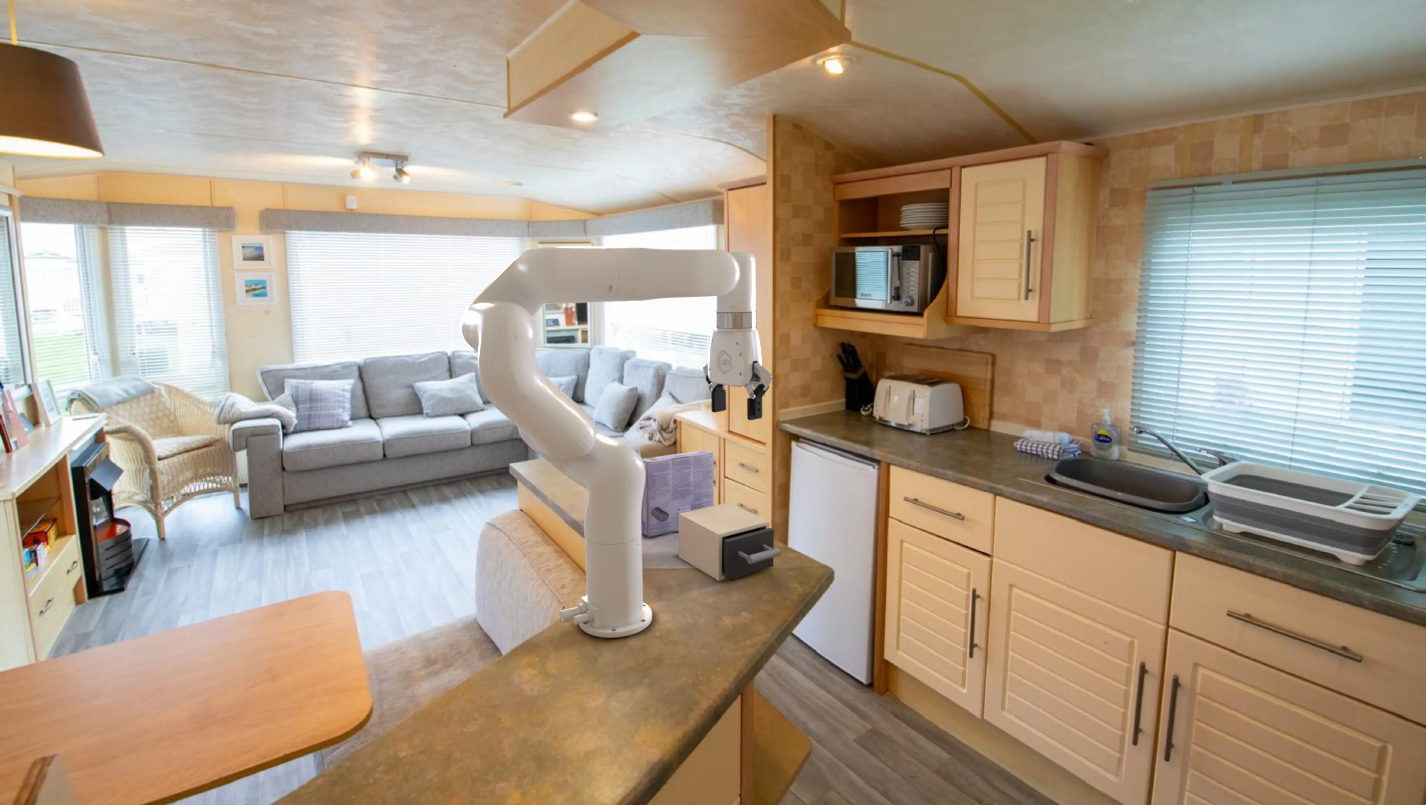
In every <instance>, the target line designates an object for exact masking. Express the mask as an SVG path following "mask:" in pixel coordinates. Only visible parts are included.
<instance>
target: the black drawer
mask: <svg viewBox="0 0 1426 805" xmlns="http://www.w3.org/2000/svg"><path fill="white" fill-rule="evenodd" d="M774 544H775V529H774V528H772V527H769V528H768V529H764V530H763V527H759V528H756V529H752V530H748V531H744V532H740V533H736V534H732V535H729V536H725V537H722V573H724V578H726V579H725V580H732V579H735V578H738V577H742V576H745V575H748V574H749V575H750V574H752V573H755V572H758V571H762V570H765V569H769V568H771V567H774V558H777V557H779V556H780V555H781V550H780V548H779V547H775V545H774Z"/></svg>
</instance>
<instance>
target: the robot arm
mask: <svg viewBox="0 0 1426 805" xmlns="http://www.w3.org/2000/svg"><path fill="white" fill-rule="evenodd" d="M704 297H705V298H706V297H713V305H714V306H713V308H714V310H713V311H714V316H713V320H714V328H713V329H711V333H710V340H709V347H708V362H707V363H706V364H704V365H703V366H702V370H703V373H704V376H705V382H706V383H707V384H708V390H709V391H710V398H711V399H710V400H711V402H710V403H711V405H710V406H711V412H712V413H719V412H725V411H726V410H727V389H725V386H729V387H735V388H743V387H744V388H745V390H746V392H747V394H748V397H747V399H746V406H747V407H746V416H747V417H746V418H747V420H748V421H755V420H759V419H762V418H763V397H765V396H766V393H767V391H768V390H769V389H770V384H771V381H772V380H773V374H772V373H771V372H770V371H769V370H767V369H766V368H765V367H764V366H763V361H762V360H763V359H762V347H761V340H760V335H759V330H758V329H757V260H756V257H755V255H754V254H753V253H752V252H749V251H727V250H723V249H671V248H669V249H665V248H663V249H662V248H650V247H648V248H647V247H635V246H633V247H632V246H548V247H547V246H546V247H537V248H531V249H527V250H525V251H524V252H522V253H520V254H519V255H517V256H516V258H514V259H513V260H512V261H511V262H510V263H509V264H508V265H507V266H506V267H505V268H504V269H503V270H502V271H501V272H500V273H499V274H498V275H497V276H496V277H495V278H494V279H493V280H492V281H491V282H490V284H488V285H487V286H486V287H485V288H484V289H483V290H482V291H481V292H480V293H479V294H478V295H477V296H476V297H475V298H474V300H472V301H471V302H470V304H469V305H468V306H467V307H466V309H465V310H464V311H463V314H462V316H461V318H460V322H459V323H460V324H459V325H460V326H459V330H460V334H461V338H462V339H463V341H464V343H465V344H466V345H467V346H468V347H469V348H470V349H472V350H473V351H475V352H476V353H477V354H478V355H477V371H478V376H479V381H480V382H479V383H480V385H481V388H482V391H483V392H484V394H485V396H486V398H487V399H488V401H489V402H490V403H491V404H492V405H493V407H495V408H496V409H497V410H498V411H499V412H500V413H501V414H502V415H504V417H506V418H507V419H508V420H509V421H510V422H511V423H512V424H513V425H514V426H516V427H517V431H518V433H519V435H520V437H521V439H522V440H523V442H524V443H525V444H526V445H527V446H529V448H531V449H532V450H533V451H534V452H536V453H537V454H538V455H540V456H541V457H542V458H543V459H544V460H546V461H547V462H548V463H549V464H551V465H552V466H553V467H554V468H556V469H557V470H558V471H559V472H561V473H562V474H563V475H565V476H566V477H567V478H569V479H570V480H571V481H572V482H574V483H576V484H578V485H579V486H580V487H582V488H584V489H585V490H586V491H587V494H588V495H587V496H588V497H587V502H586V507H585V511H584V517H583V518H584V519H583V532H584V554H585V557H584V558H585V578H586V579H585V585H586V586H585V587H586V595H583V596H581V598H580V602H581V603H578V604H576V606H575V607H569V608H566V609H563V610H560V611H559V619H560V621H561V623H566V622H570V621H572V623H573V624H574V625H575V626H576V625H578V626H579V628H580V629H581V630H582V631H583V632H584V633H586V634H588V635H591V636H594V637H597V638H608V639H612V638H613V639H615V638H624V637H627V636H632V635H635V634H638V633H639V632H642V631H643V630H645V629H646V628H647V627H648V626H649V625H651V623H652V621H653V610H652V608H651V607H650V606H649V604H647V603H645V602H644V585H643V583H644V581H643V580H644V579H643V578H644V577H643V536H642V534H643V533H642V532H641V509H642V498H643V492H644V486H645V478H646V472H645V466H644V463H643V461H642V459H643V458H642V456H641V457H640V456H639V454H638V453H637V452H636V451H635V449H634V448H633V447H631V446H630V445H628V444H626V443H624V442H622V441H620V440H617V439H615V438H612V437H609V436H607V435H605V434H602V433H601V432H600V431H599V430H597V429H596V428H597V427H596V425H595V422H594V420H593V418H592V417H591V415H590V414H589V413H588V412H587V411H586V410H585V408H583V407H582V406H581V405H580V404H579V403H577V402H576V401H574V399H572V398H571V397H570V396H568V395H567V394H566V393H565V392H564V391H562V389H560V388H559V387H558V386H557V385H556V384H555V383H553V382H552V381H551V380H550V379H549V378H548V376H547V375H545V374H544V373H543V371H542V370H541V369H540V367H539V366H538V363H537V359H536V347H537V339H538V338H537V337H538V329H537V325H536V322H535V319H534V318H533V317H534V316H535V315H536V314H537V313H538V312H539V311H540V309H542V308H543V306H544V305H545V304H553V305H555V304H556V305H558V304H559V305H562V304H587V303H605V302H606V303H607V302H608V303H611V302H641V301H642V302H643V301H650V300H658V299H674V298H675V299H677V298H678V299H679V298H704ZM641 458H642V459H641Z"/></svg>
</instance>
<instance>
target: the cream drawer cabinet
mask: <svg viewBox="0 0 1426 805" xmlns="http://www.w3.org/2000/svg"><path fill="white" fill-rule="evenodd" d="M759 527H763V530H764V529H768V528H770V521H769V520H768V519H765V518H762V517H760V516H758V515H756V514H754V513H751V512H749V511H747V510H746V509H743V508H740V507H738V506H736V505H733V504H732V503H730V502H724V503H719V504H715V505H714V506H710V507H706V508H701V509H697V510H692V511H688V512H683V513H679V531H678V558H680V559H681V560H684V561H685V562H687V563H689V564H690V565H692V566H693V567H695V568H696V569H698V570H700V571H702V572H703V573H705V574H707V575H708V576H710V577H711V578H713V579H715V580H716V581H718V582H719V581H723V580H727V579H726V578H724V573H722V537H725V536H729V535H732V534H736V533H740V532H744V531H748V530H752V529H756V528H759Z"/></svg>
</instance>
